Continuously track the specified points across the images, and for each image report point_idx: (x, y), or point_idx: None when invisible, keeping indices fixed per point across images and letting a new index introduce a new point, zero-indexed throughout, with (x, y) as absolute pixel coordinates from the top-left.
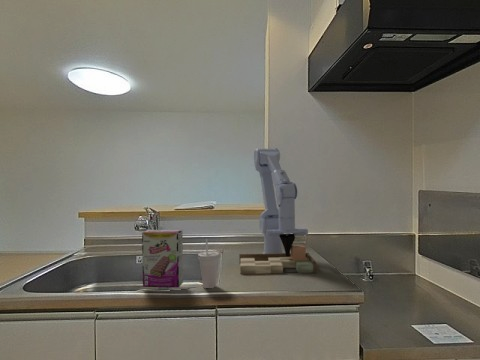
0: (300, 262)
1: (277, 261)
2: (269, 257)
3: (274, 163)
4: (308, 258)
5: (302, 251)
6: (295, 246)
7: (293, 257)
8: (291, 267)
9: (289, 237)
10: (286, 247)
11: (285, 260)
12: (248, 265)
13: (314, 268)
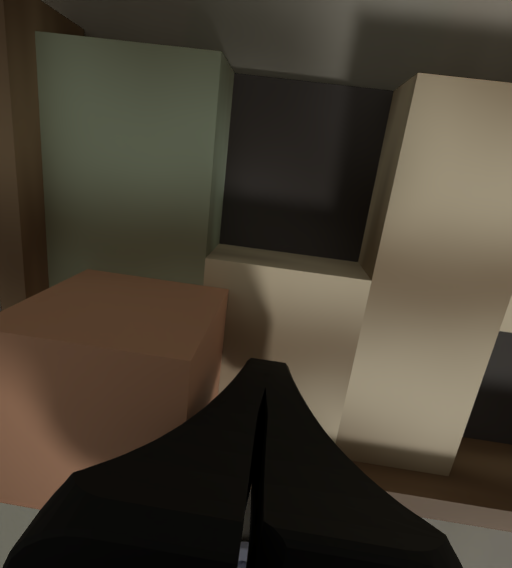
0: (162, 185)
1: (412, 284)
2: (439, 458)
3: None
4: None
5: (62, 309)
6: (125, 423)
7: (212, 300)
8: (257, 248)
9: (202, 538)
10: (286, 414)
11: (308, 306)
12: None
13: (46, 11)
